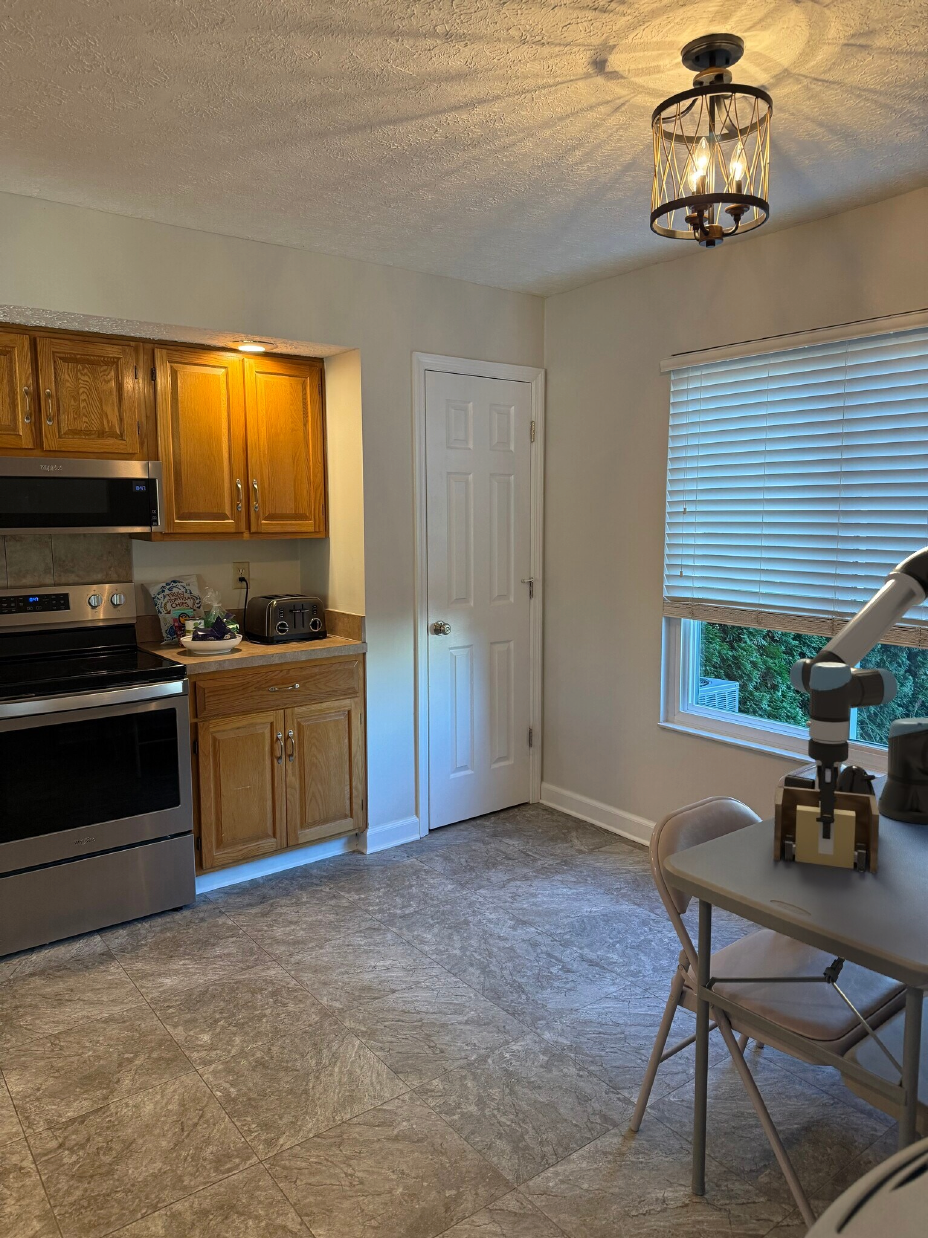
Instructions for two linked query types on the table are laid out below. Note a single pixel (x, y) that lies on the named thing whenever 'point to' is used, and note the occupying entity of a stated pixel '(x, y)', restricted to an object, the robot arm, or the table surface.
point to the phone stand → (799, 782)
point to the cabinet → (844, 801)
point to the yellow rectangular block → (810, 838)
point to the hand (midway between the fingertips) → (825, 842)
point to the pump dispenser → (855, 781)
